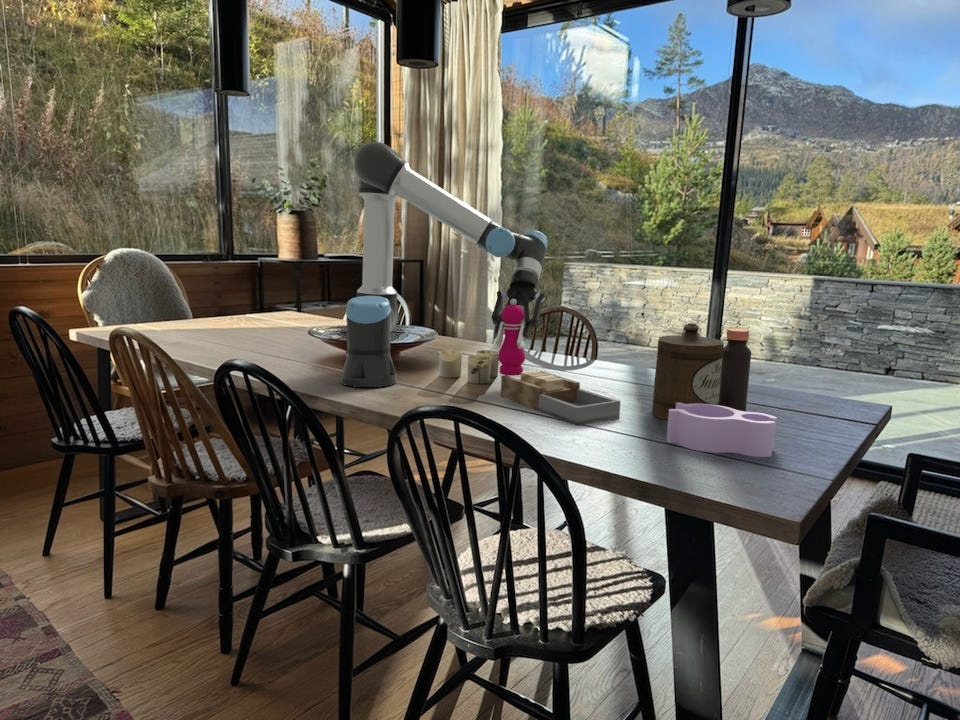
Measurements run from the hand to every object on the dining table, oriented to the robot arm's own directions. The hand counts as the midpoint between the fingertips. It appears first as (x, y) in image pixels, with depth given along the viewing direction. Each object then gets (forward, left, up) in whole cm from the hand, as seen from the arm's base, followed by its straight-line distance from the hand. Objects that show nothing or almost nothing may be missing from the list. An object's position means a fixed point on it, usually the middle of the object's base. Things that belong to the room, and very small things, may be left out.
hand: (508, 344), depth 176 cm
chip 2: (+14, +3, -9) cm, 17 cm away
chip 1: (+8, +3, -9) cm, 12 cm away
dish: (+26, +3, -13) cm, 29 cm away
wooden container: (+38, +25, -13) cm, 47 cm away
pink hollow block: (+58, +13, -13) cm, 60 cm away
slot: (+10, +3, -13) cm, 17 cm away
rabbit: (-43, +31, -13) cm, 54 cm away
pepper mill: (-2, +3, -8) cm, 9 cm away
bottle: (+41, +38, -13) cm, 57 cm away
